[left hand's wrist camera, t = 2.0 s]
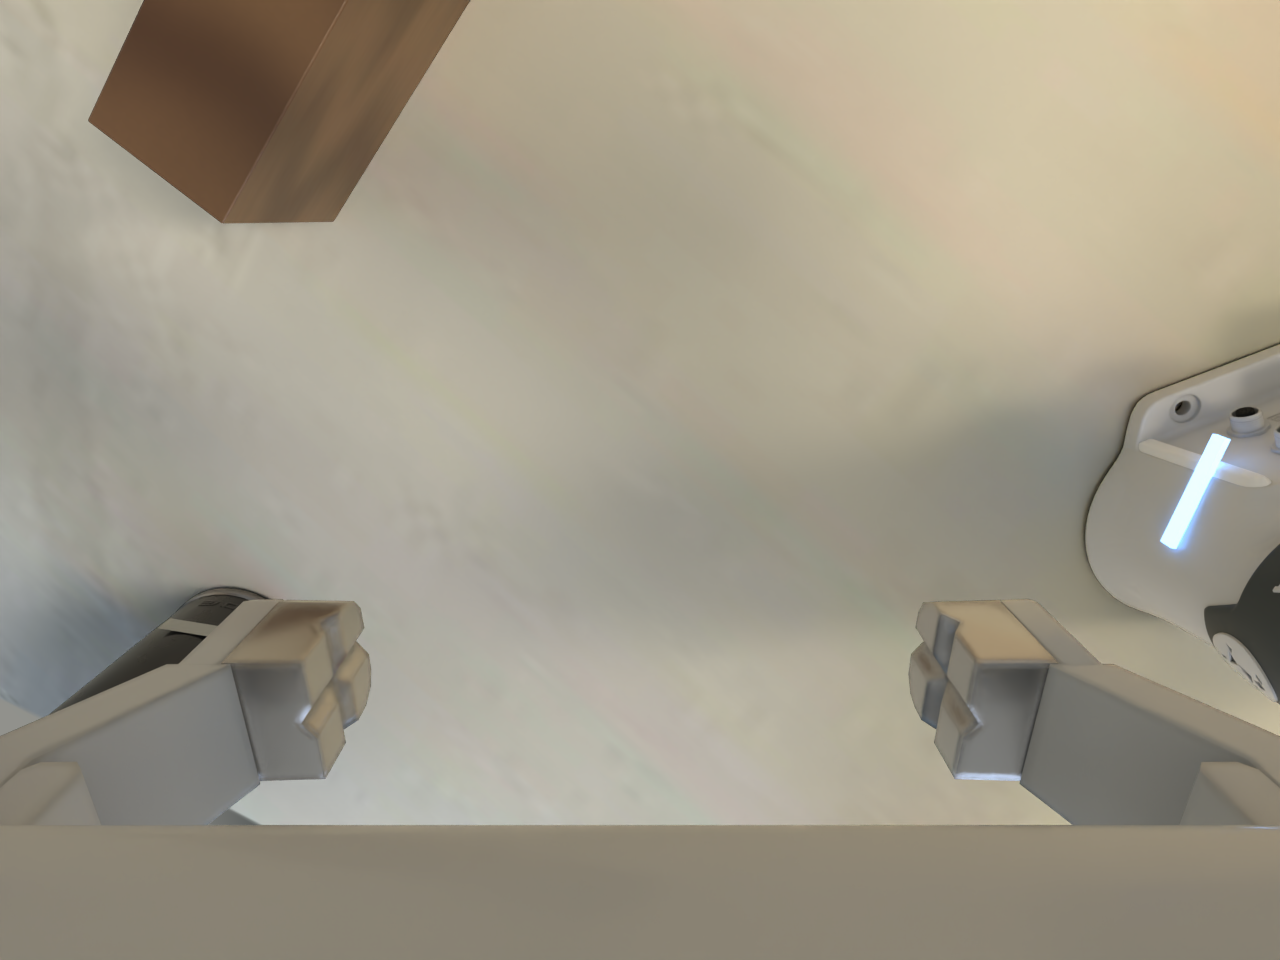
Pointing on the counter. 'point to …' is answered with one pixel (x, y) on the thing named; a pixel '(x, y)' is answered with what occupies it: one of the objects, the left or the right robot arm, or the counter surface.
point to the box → (268, 97)
